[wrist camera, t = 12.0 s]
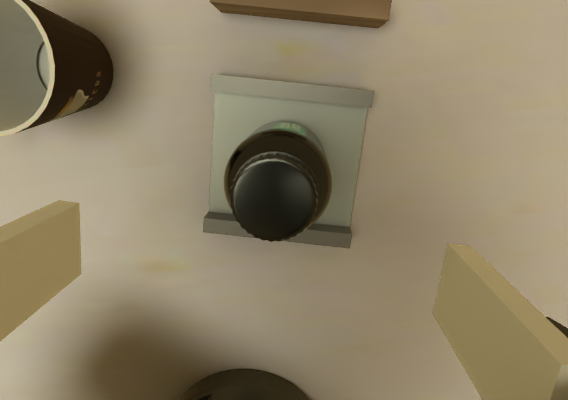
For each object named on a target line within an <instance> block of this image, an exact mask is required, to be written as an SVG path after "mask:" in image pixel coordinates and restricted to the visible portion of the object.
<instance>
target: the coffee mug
mask: <svg viewBox="0 0 568 400" xmlns="http://www.w3.org/2000/svg"><path fill="white" fill-rule="evenodd" d="M112 80H113V66H112V61H111V58H110V55H109V53H108V51H107V49H106V47H105V46H104V45H103V43H102V42H101V41H100V40H99V39H98V38H97V37H96V36H95V35H94V34H92V33H91V32H89V31H87V30H86V29H84V28H82V27H80V26H78V25H76V24H74V23H72V22H70V21H68V20H66V19H64V18H62V17H61V16H59V15H57V14H55V13H53V12H51V11H49V10H47V9H45V8H43V7H41V6H39V5H37V4H35V3H34V2H32V1H30V0H0V136H6V135H10V134H14V133H17V132H20V131H23V130H26V129H29V128H32V127H35V126H38V125H41V124H43V123H46V122H49V121H52V120H55V119H58V118H61V117H64V116H67V115H69V114H72V113H75V112H78V111H81V110H84V109H87V108H90V107H92V106H94V105H96V104H98V103H99V102H100V101H101V100H103V99H104V97H105V96H106V95H107V94H108V92H109V89H110V87H111V84H112Z"/></svg>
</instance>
